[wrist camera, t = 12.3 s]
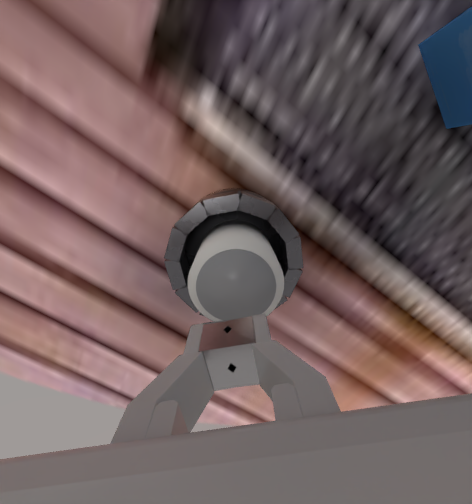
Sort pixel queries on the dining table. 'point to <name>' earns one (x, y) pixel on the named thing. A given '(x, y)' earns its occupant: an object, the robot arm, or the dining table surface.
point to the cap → (235, 273)
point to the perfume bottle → (451, 69)
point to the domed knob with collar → (232, 208)
